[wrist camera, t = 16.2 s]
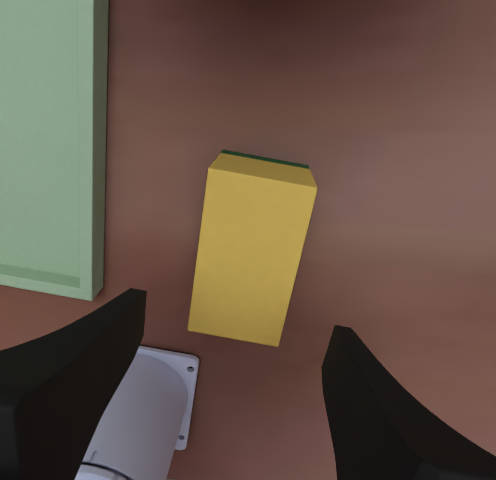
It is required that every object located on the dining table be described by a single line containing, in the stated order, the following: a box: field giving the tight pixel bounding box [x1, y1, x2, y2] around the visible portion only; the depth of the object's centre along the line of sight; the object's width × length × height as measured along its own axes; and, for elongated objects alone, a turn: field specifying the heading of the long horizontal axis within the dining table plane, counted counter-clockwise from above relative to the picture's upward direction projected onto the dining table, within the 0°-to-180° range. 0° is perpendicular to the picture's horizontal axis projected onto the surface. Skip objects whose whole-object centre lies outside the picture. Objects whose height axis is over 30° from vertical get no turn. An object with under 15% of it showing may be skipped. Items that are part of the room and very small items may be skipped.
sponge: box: [188, 150, 318, 347], centre depth 21 cm, size 9×5×5 cm, turn 170°
